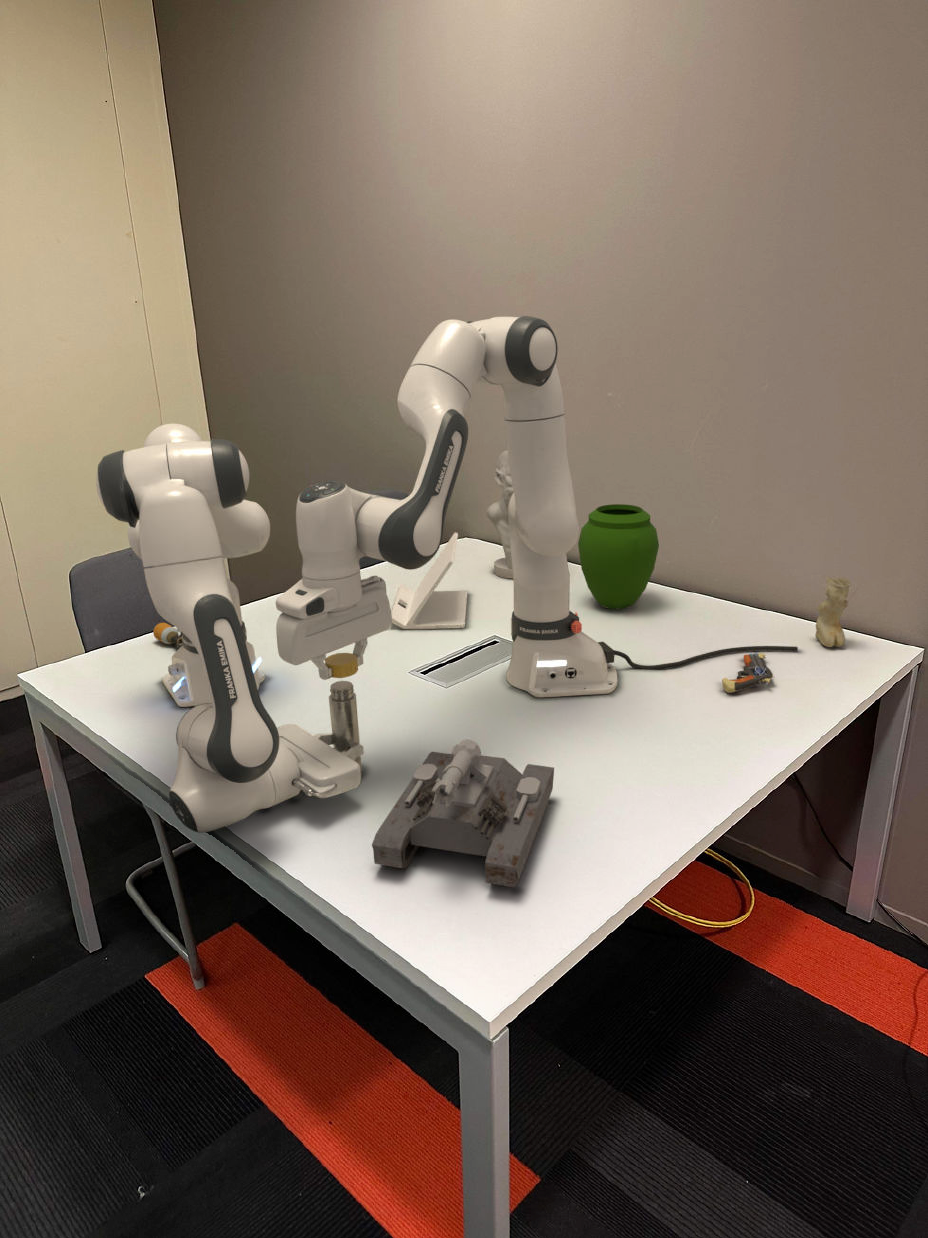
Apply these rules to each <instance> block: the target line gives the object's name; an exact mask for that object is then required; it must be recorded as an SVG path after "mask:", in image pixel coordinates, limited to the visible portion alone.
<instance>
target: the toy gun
mask: <svg viewBox="0 0 928 1238" xmlns="http://www.w3.org/2000/svg"><path fill="white" fill-rule="evenodd" d="M765 659H766V654H765V653H763V652H759V653H758V652H755V653H749V654H744V655H743V663H744V665H745V666H743V670H739V671H737V676H736V678H735V679H734V678H733V679H729V678H727V677H723V678H721V682H722V683H721V684H722V688H723V689H724V691H725V692H726V693H729V694H730V693H735V692H738V691H742V690H746V689H749V688H751V687H756V686H758V685H760V684H762V683H767V684H769V683H770V681H771V679H774V678H775V676H774V675H773V671H772V670H771V669H770V668H769V667H768V665H767V663H766V662H765Z"/></svg>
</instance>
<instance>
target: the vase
mask: <svg viewBox="0 0 928 1238" xmlns="http://www.w3.org/2000/svg"><path fill="white" fill-rule="evenodd" d="M587 516H588V517H587V518H588V521H587V522H586V523H585V524H584V525H583V526H582V527H581V529H580V532H579V537H578V541H577V546H578V554H579V562H580V569H581V571H582V574H583V577H584V580H585V583H586V585H587V588H588V590H589V591H590V594H592V597H593V598H594V600H595V601H596V602H597V603H598V604H599V605H600V606H602V607H604V608H606V609H609V610H625V609H628V608H630V607H632V606H634V604H636V602H638V601H639V599H640V597H641V596H642V595H643V593H644V592H645V590H646V588H647V586H648V584H649V581H650V579H651V577H652V574H653V572H654V570H655V566H656V562H657V557H658V552H659V548H660V544H659V543H660V542H659V537H658V531H657V528H656V527H655V526H654V524H653V523H652V522H651V515H650V514H649V512H647V511H645V510H644V509H643V508H642V507H641V506H638V505H633V504H622V503H621V504H619V503H616V504H615V503H614V504H604V505H601V506H598V507H597V508H595V509H594V510H592V511H591V512H590V513H589V514H588V515H587Z"/></svg>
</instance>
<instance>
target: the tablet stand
mask: <svg viewBox="0 0 928 1238" xmlns="http://www.w3.org/2000/svg"><path fill="white" fill-rule="evenodd" d="M458 537H459V533H458V532H456V531H455V532H453V534H452V535H451V537H450V539H449V540H448V542H447V543H446V544H445V546H444V548H443V549H442V551H441V552H440V554H439V555H438V556H437V558H436V559H435V561H434V562H433V564H432V565H431V567H430V568H429V569H428V571H427V573H426V574H425V575H424V577H423V579H422V580H421V581H420V583H419V584H418V585H417V587H416V589H415V590H412V589H410V588H409V587H407V586H406V585H403V584H400V585H399V586H398V589H397V591H396V595H395V598H394V601H393V604H392V607H391V615H392V624H394V625H396V626H398V627H399V628H401V629H402V630H426V629H427V630H429V629H430V630H431V629H435V630H436V629H437V630H438V629H464V628H465V627H466V618H467V617H466V616H467V605H468V591H467V590H436V589H437V587H438V585H440V582H441V581H442V580H443V578H444V577H445V575H446V574H447V573H448V571H449V570H450V569H451V567H452V566H453V564H454V562H455V558H456V553H457V545H458ZM399 603H400V604H399ZM402 605H403V606H405V607H403V606H402Z"/></svg>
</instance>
